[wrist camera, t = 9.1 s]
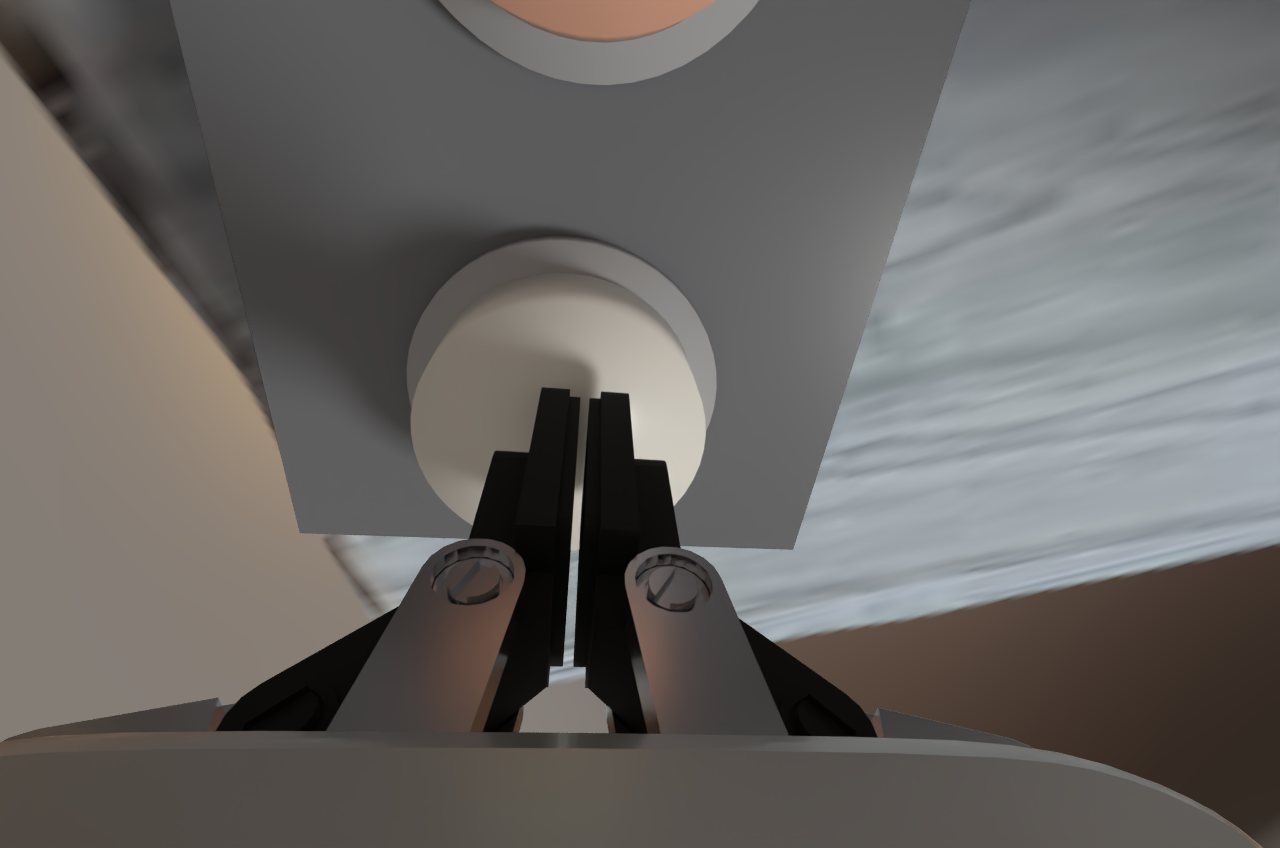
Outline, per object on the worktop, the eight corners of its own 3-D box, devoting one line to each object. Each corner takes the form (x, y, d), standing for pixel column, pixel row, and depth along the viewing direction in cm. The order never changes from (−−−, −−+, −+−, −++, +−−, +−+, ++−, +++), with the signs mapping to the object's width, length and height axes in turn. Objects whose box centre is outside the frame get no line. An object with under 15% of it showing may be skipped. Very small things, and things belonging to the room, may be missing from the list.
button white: (713, 285, 12) (730, 315, 11) (673, 506, 15) (682, 554, 14) (421, 260, 12) (394, 287, 10) (440, 497, 15) (422, 546, 13)
